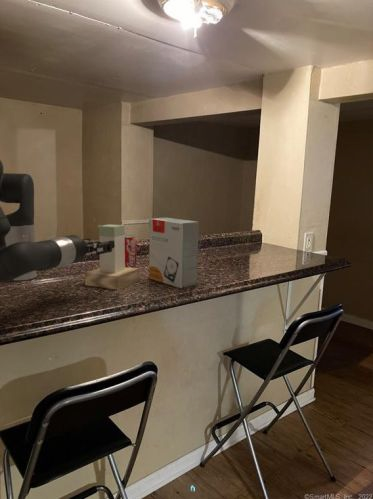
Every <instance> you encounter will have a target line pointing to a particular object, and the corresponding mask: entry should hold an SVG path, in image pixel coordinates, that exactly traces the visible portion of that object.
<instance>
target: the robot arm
mask: <svg viewBox="0 0 373 499" xmlns="http://www.w3.org/2000/svg"><path fill="white" fill-rule="evenodd" d="M34 185H35V184H34V180H33V177H32V175H30V174H27V173H15V172H14V173H6V172H5V173H4V164H3V162H2V160H1V159H0V202H1V203H5V204H19V207H18V209H17V210H15V211H14V212H12V213H9V214H5V212H4V210H3V208H2V207H1V206H0V282H1V283H7V282H10V281H27V280H32V279H35V278H37V272H41V271H47V270H50V269H53V268H54V269H55V268H63V267H66V266H69V265H73V264H76V263H80V262H82V261H83V260H84V258H85V256H90V255H91V254H95V255H98V256H100V254H104V253H108V252H112V248H114V247H115V242H114V241H112V240H111V241H105V242H100V241H99V239H97V240H91V238H88V237H86V238H81V237H80V236H78V235H77V234H76V235H75V234H69V235H64V236H59V237H58V236H57V237H52V238H50V239H46V240H40V241H36V239H35V238H36V237H35V220H34V219H35V186H34ZM94 244H95V245H94Z"/></svg>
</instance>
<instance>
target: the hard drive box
mask: <svg viewBox="0 0 373 499" xmlns="http://www.w3.org/2000/svg"><path fill="white" fill-rule="evenodd" d="M148 220H149V221H148V224H149V225H148V226H149V227H148V228H149V230H148V233H149V234H148V235H149V238H148V241H149V242H148V247H149V248H148V254H149V255H148V258H149V259H148V261H149V262H148V273H149V274H148V276H149V277H148V279H149V280H153V281H155V282H160V283H162V284H166V285H169V286H171V285H172V286H171V287H175V288H177V289H178V288H180V289H183V287H184V288H188V287H192V286H196V285H198V271H199V270H198V269H199V267H198V265H199V235H200V234H199V233H200V232H199V230H200V222H199V221H195V220H188V219H180V218H172V217H155V218H153V217H152V218H149V219H148Z"/></svg>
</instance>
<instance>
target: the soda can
mask: <svg viewBox="0 0 373 499" xmlns="http://www.w3.org/2000/svg"><path fill="white" fill-rule="evenodd" d="M137 243H138V242H137V239H136V235H133V234H125V267H129V268H137V264H138V263H137V256H138V249H137V248H138V247H137V245H138V244H137ZM137 269H138V268H137Z"/></svg>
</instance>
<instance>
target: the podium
mask: <svg viewBox="0 0 373 499" xmlns="http://www.w3.org/2000/svg"><path fill="white" fill-rule="evenodd" d="M138 282H140V268H129V267H125V270H123V271H120V272H117V273H109V272H101V271H100V267H97V268H94V269H91V270H87V271H84V286H89V287H97V288H103V289H110V290H116V291H118V290H121V289H123V288H127V287H128V286H131V285H133V284H135V283H138Z"/></svg>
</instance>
